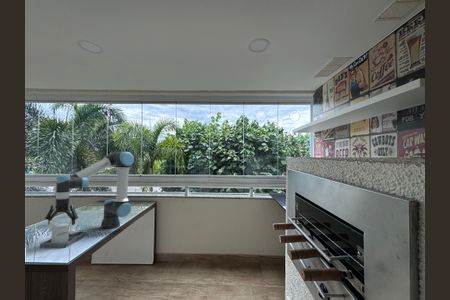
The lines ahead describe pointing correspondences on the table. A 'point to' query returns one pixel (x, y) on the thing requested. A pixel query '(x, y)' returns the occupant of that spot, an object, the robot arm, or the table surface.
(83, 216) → the table surface
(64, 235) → the supplement box
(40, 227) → the table surface
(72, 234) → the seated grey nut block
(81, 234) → the grey flat rectangular frame
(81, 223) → the table surface
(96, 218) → the table surface
